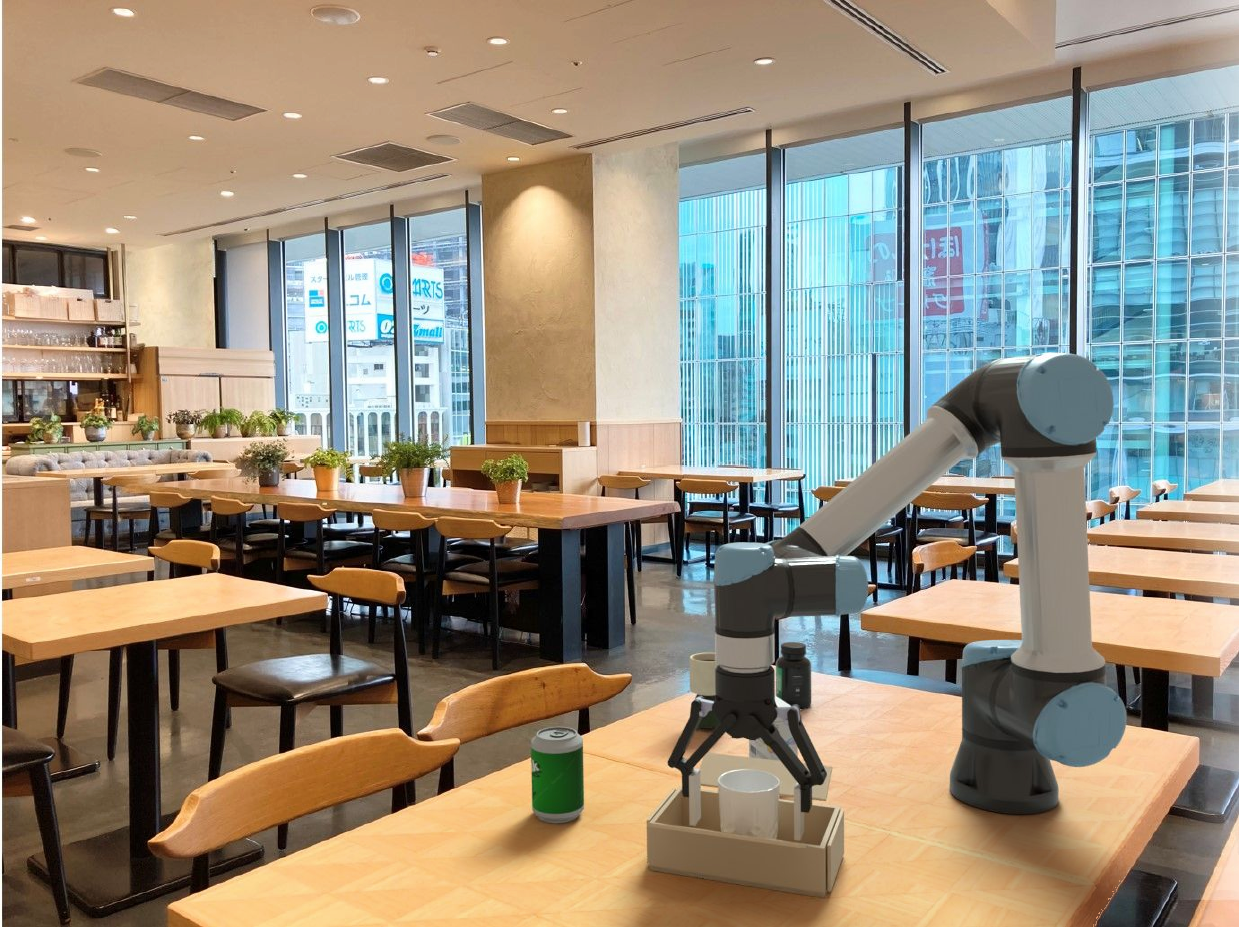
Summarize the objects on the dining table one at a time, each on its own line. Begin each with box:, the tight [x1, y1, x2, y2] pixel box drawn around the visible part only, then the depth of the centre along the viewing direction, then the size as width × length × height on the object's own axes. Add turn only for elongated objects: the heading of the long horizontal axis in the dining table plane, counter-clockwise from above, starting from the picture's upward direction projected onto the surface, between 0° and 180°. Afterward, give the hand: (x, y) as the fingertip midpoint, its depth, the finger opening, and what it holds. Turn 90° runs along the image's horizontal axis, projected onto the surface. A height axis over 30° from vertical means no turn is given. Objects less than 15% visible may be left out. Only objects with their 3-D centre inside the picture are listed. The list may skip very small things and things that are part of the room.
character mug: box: [689, 652, 720, 729], centre depth 180 cm, size 11×7×13 cm, turn 26°
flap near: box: [646, 822, 806, 848], centre depth 117 cm, size 18×1×6 cm
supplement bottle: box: [775, 641, 812, 710], centre depth 193 cm, size 7×7×12 cm
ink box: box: [748, 695, 799, 761], centre depth 156 cm, size 8×5×12 cm, turn 16°
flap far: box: [699, 752, 833, 802], centre depth 136 cm, size 18×1×6 cm
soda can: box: [530, 726, 585, 824], centre depth 142 cm, size 8×8×12 cm
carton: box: [646, 786, 845, 899], centre depth 127 cm, size 23×13×6 cm, turn 69°
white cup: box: [717, 769, 780, 839], centre depth 126 cm, size 8×8×10 cm
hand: (746, 828), depth 127 cm, fingers open, 13 cm apart
